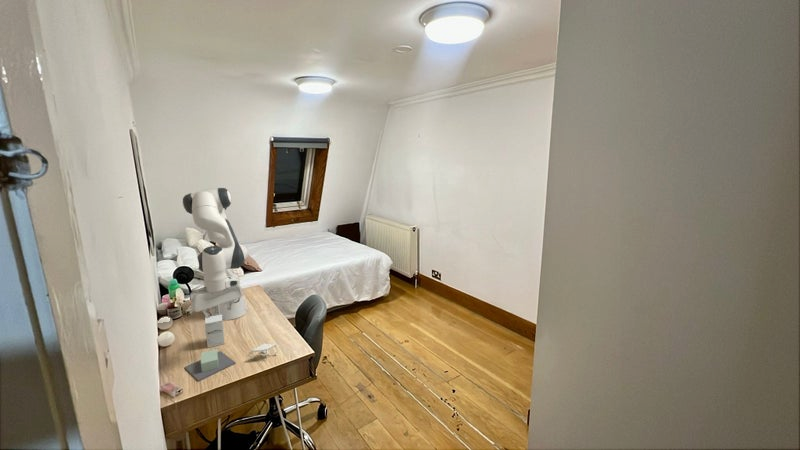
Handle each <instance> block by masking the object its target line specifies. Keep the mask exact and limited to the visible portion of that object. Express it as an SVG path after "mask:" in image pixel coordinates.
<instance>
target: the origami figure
mask: <svg viewBox="0 0 800 450" xmlns="http://www.w3.org/2000/svg"><path fill="white" fill-rule="evenodd" d="M273 348H275V349H276V352H275V353H273V354H274V355H275V356H277V353H280V351H279V348H278V346H277V344H272V343H265V342H264V343H263V344H261V345H258V346H257V347H255V348H254V349H251V351H250V352H249V354H247V357H248V358H251V359H252V360H254V357H253V356H251V355H252V354H253V353H261V352H263V353H266V356H265V357H266V358H265V359H266V360H269V350H271V349H273Z"/></svg>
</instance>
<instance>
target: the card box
mask: <svg viewBox="0 0 800 450" xmlns="http://www.w3.org/2000/svg"><path fill="white" fill-rule="evenodd" d="M217 352H218V348H216V349H215V348H214V349H210V350H207V351H202V352H201V354H200V355H201V357H200V360H201V368H202V372H205V371H209V370H213V369H217V368H218V353H217Z"/></svg>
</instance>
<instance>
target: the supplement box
mask: <svg viewBox="0 0 800 450" xmlns="http://www.w3.org/2000/svg"><path fill="white" fill-rule="evenodd" d="M223 321H224V320H222V314H221V315H215V316H212V315H210V317H209V318H205V317H204V327H205V335H206V336H205V337H206V346H207V348H208V349H209V348H212V347H215V346H220V345H225V343H226V342H225V330H224V323H223Z"/></svg>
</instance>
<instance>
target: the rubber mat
mask: <svg viewBox="0 0 800 450" xmlns="http://www.w3.org/2000/svg"><path fill="white" fill-rule="evenodd" d="M217 353H218V368H217V369H213V370H209V371H205V372H202V368H201V359H199V360H197V361H195V362H192V363H190V364H188V365H185V366H184V369H185V370H186V371H187V372H188V373H189V374H191V376H192V377H193V378H194V379H196V381H198V382H201V381H203V380H205V379H207V378H209V377H211V376H213V375H214V374H217V373H219V372H221V371H223V370H225V369H228V368H229V367H231V366H234V365H236V363H237V362H235V360H233V359H232V358H231V357H230V356H228V355H227V354H226V353H224V352H222V350H220V351H217Z"/></svg>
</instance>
